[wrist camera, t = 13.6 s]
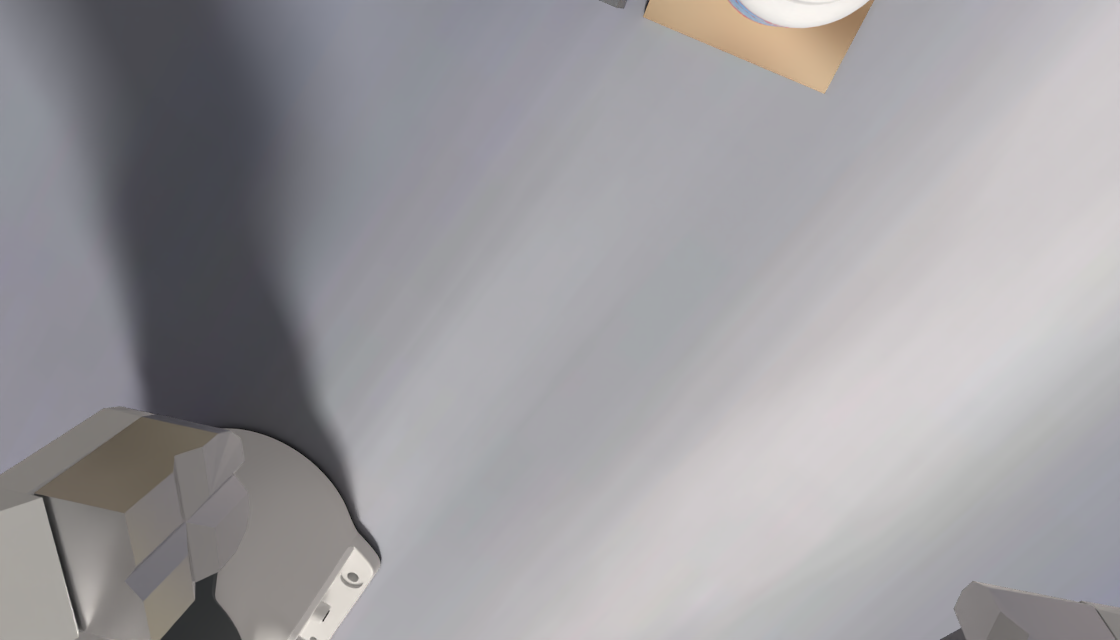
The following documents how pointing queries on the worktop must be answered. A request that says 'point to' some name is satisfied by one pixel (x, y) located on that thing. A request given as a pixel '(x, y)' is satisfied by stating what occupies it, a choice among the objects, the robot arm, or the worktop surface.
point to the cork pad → (764, 38)
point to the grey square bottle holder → (615, 3)
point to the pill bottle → (796, 11)
